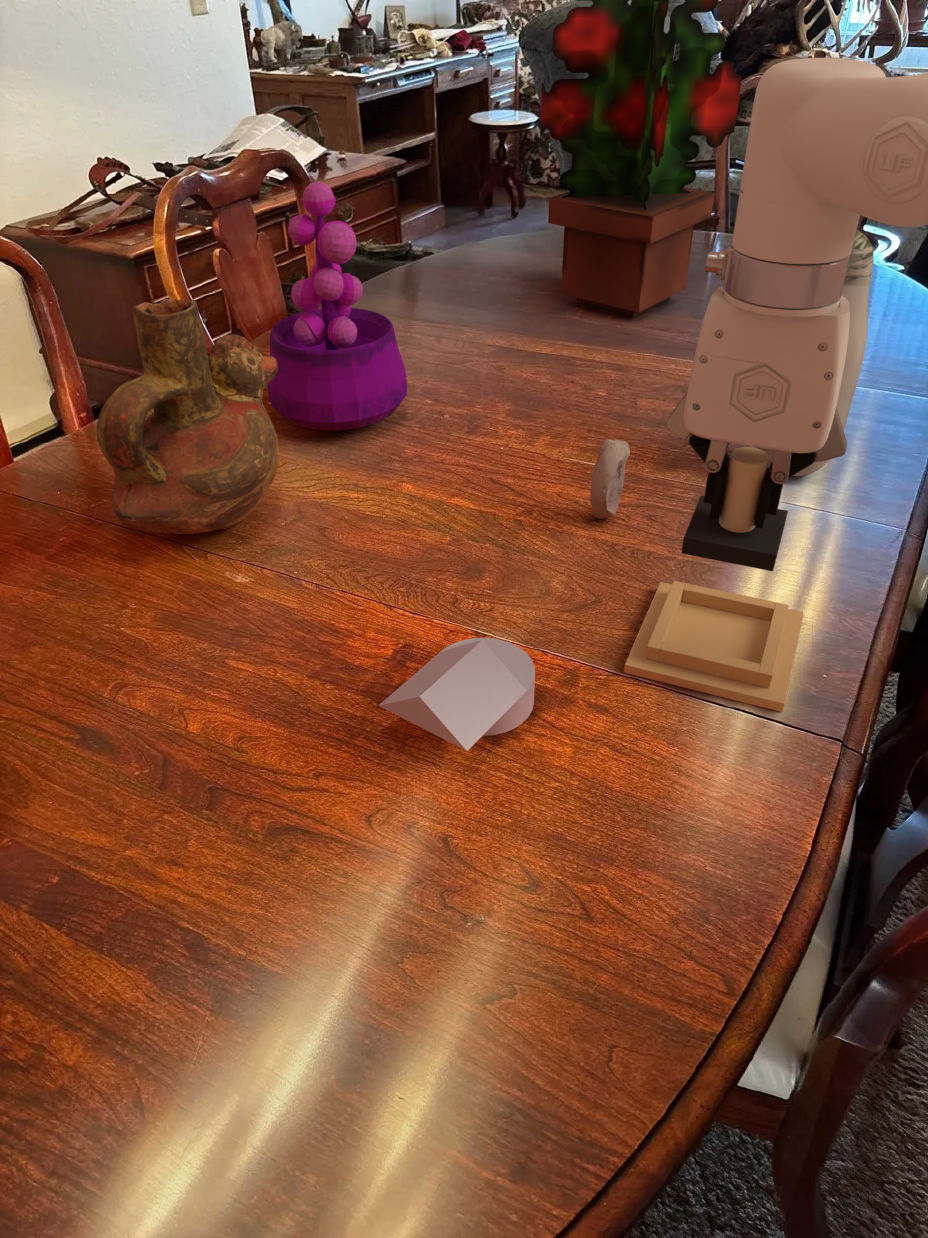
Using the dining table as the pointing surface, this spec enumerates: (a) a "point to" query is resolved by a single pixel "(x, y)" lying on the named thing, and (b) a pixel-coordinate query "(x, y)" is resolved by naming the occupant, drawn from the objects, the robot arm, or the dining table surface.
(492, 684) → the wedge on round base
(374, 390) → the decorative plant
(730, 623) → the base pad
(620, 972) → the dining table surface
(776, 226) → the robot arm
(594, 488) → the fossil
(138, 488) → the ceramic vessel
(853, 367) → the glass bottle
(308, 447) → the dining table surface
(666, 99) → the potted plant
